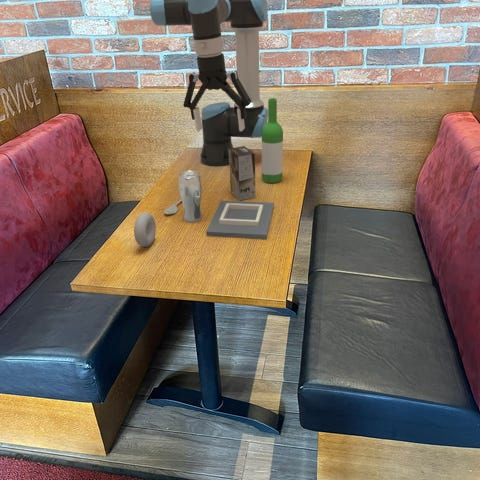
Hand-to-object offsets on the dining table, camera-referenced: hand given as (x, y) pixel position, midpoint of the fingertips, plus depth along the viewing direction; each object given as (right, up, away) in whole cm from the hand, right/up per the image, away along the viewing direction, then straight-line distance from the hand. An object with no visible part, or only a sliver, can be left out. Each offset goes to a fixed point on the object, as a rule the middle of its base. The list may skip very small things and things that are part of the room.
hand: (220, 129), depth 134 cm
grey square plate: (+6, -27, +9) cm, 29 cm away
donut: (-21, -34, -3) cm, 40 cm away
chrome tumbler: (-9, -26, +11) cm, 30 cm away
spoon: (-15, -21, +21) cm, 33 cm away
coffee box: (+7, -17, +26) cm, 32 cm away
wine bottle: (+18, -10, +37) cm, 42 cm away
